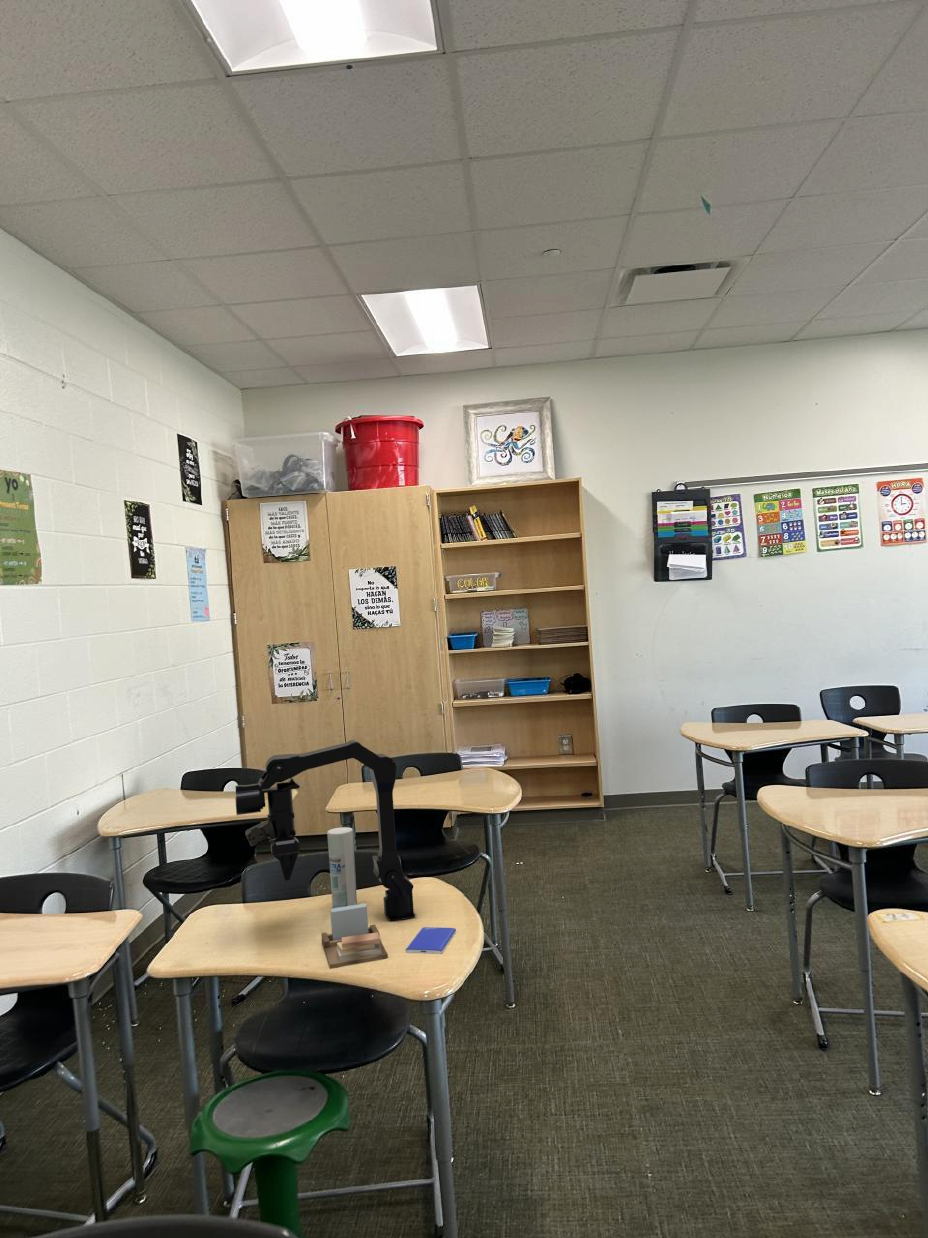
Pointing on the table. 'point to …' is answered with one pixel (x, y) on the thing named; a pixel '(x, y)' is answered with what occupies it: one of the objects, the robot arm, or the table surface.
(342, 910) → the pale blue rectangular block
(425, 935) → the hard drive
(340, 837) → the spray can
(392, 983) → the table surface
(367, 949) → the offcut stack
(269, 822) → the robot arm
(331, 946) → the rack
